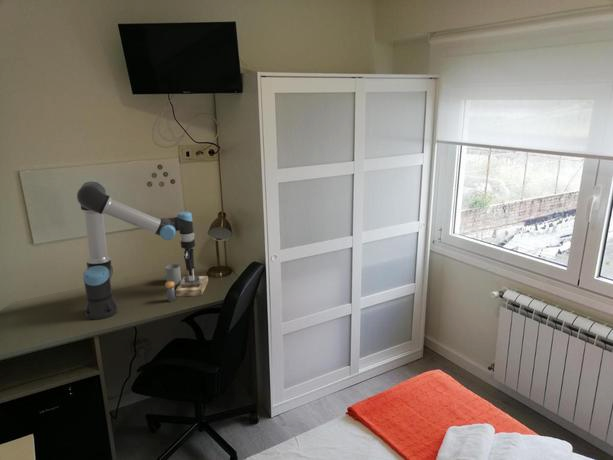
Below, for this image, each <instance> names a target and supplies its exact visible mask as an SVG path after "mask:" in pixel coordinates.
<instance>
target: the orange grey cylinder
mask: <svg viewBox="0 0 613 460" xmlns="http://www.w3.org/2000/svg"><path fill="white" fill-rule="evenodd" d="M164 284H165V288H166V295H167V302H169V303H173V302H176V301H177V299H176V298H177V296H176V292H175V290H176V289H175V286H176V285H175V284H174V282H173V281H170V282H167V281H166V282H164Z"/></svg>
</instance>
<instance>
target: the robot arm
mask: <svg viewBox="0 0 613 460" xmlns="http://www.w3.org/2000/svg"><path fill="white" fill-rule="evenodd" d="M76 193H77V194H76V199H77V202H78V204H80V210H81V211H82V212H83V213H84V217H85V220H84V221H85V229H86V239H87V249H88V256H89V257H88V258H87V260H86V269H85V270H84V272H83V274H82V275H83V276H82V279H83V283H84V288H85V294H86V299H87V304H86V308H85V317H86V318H87V319H89V320H101V319H102V320H103V319H107V318H110V317H112V316H115V314H117V313H119V306H118V303H117V302H116V300H115V298H114V296H113V291H112V284H111V281H112V277H113V273H114V270H113V265H112V259H111V257H110V256H108V249H107V248H108V246H107V238H106V227H105V215H104V214H106V215H108V216H110V217H112V218H115V219H118V220H120V221H123V222H125V223H127V224H131V225H132V226H135V227H137V228H140V229H142V230H145V231H147V232H150V233H151V234H155V235H157V236H159V237H161V239H163V240H165V241H171V240H172V239H174V238H175V236H176V232H178V231H179V240H180V247H181V248H182V249H184V251H183V252H184V255H183V258H184V263H185V268H186V271H187V272H188V273H187V274H188V276H189V281H194V276H195V272H194V269H196V266H195V263H194V262H195V260H194V258H195V257H194V248H195V247H196V241H195V235H196V234H195V233H194V223H193V214H192V213H191V212H190V211H182V212H180V211H179V212H178V213H177V216H175V217H174V216H173V217H164V218H163V217H161V218H157V217H154V216H152V215H150V214H148V213H145V212H142V211H140V210H138V209H135V208H133V207H132V206H129V205H126V204H124V203H121V202H119V201H117V200H115V199H112V197H111V195H107V192H106V188H105V187H104V185H103V184H102V183H100V182H98V181H93V180H91V181H87V182H85V183H83V184H82V185H81V187H80V188H79V189H78V191H77V192H76ZM188 276H187V277H188Z"/></svg>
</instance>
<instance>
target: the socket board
mask: <svg viewBox="0 0 613 460" xmlns="http://www.w3.org/2000/svg"><path fill="white" fill-rule="evenodd" d="M198 276H199V278H204V281H203V283H202V284H201V285H180V284H177V285H178V286H177V287H176V289H175V297H195V296H196V297H197V296H203V294H204V292H205V289H206V287H207V285H208V283H209V276H208V275H201V276H200V275H198ZM184 277H185V276H183V277H182V278H181V280H183V279H184ZM181 282H182V281H181ZM181 282H180V283H181Z"/></svg>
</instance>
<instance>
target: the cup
mask: <svg viewBox="0 0 613 460" xmlns="http://www.w3.org/2000/svg"><path fill="white" fill-rule="evenodd" d="M164 268H165V270H164V271H165V277H166V282H170V281H173V282H174V284H175V286H176V285H179V284H180V282H181V281H182V275H181V274H182V273H181V266H180V264H178V263H172V264H171V263H170V264H168V265H166V266H165V267H164Z"/></svg>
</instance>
